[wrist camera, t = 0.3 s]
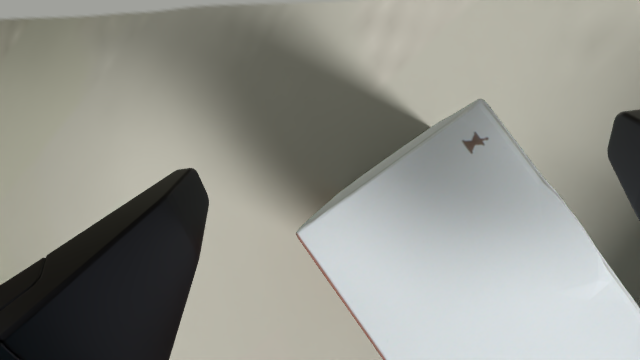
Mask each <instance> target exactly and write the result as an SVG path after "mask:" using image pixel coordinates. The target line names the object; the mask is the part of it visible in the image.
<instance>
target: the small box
mask: <svg viewBox="0 0 640 360" xmlns="http://www.w3.org/2000/svg"><path fill="white" fill-rule="evenodd" d="M296 235H297V237H298V239H299V240H300V242H301V243H302V245H303V246H304V247H305V249H306V250H307V252H308V253H309V255H310V256H311V257H312V259H313V260H314V262H315V263H316V265H317V266H318V267H319V269H320V270H321V272H322V273H323V275H324V276H325V277H326V279H327V280H328V282H329V283H330V284H331V286H332V287H333V289H334V290H335V291H336V293H337V294H338V296H339V297H340V299H341V300H342V301H343V303H344V304H345V306H346V307H347V308H348V310H349V311H350V313H351V314H352V316H353V317H354V319H355V320H356V321H357V323H358V324H359V326H360V327H361V329H362V330H363V331H364V333H365V334H366V336H367V337H368V338H369V340H370V341H371V343H372V344H373V346H374V347H375V349H376V350H377V351H378V353H379V354H380V356H381V357H382V358H383V360H640V308H639V306H638V305H637V304H636V302H635V301H634V299H633V298H632V297H631V295H630V294H629V293H628V291H627V290H626V289H625V287H624V286H623V284H622V283H621V282H620V280H619V279H618V277H617V276H616V274H615V273H614V272H613V270H612V269H611V268H610V266H609V265H608V263H607V262H606V261H605V259H604V258H603V256H602V255H601V253H600V252H599V251H598V249H597V248H596V246H595V245H594V243H593V242H592V240H591V238H590V237H589V235H588V234H587V232H586V231H585V229H584V228H583V226H582V225H581V223H580V222H579V221H578V219H577V218H576V217H575V215H574V214H573V213H572V211H571V210H570V209H569V208H568V207H567V205H566V204H565V202H564V201H563V199H562V198H561V197H560V195H559V194H558V193H557V192H556V191H555V189H554V188H553V187H552V186H551V185H550V184H549V183H548V182H547V181H546V179H545V178H544V177H543V176H542V175H541V173H540V172H539V171H538V170H537V168H536V167H535V166H534V164H533V163H532V162H531V160H530V159H529V158H528V157H527V155H526V154H525V153H524V151H523V150H522V148H521V147H520V146H519V144H518V143H517V142H516V140H515V139H514V138H513V137H512V135H511V134H510V133H509V131H508V130H507V129H506V127H505V126H504V125H503V123H502V122H501V121H500V119H499V118H498V117H497V116H496V114H495V113H494V112H493V110H492V109H491V107H490V106H489V105H488V104H487V103H486V102H485V100H483V99H478V100H476V101H474V102H473V103H471V104H469V105H468V106H466V107H464V108H463V109H461V110H459V111H458V112H456V113H454V114H453V115H451V116H449V117H447V118H445V119H444V120H442V121H440V122H438V123H437V124H435V125H434V126H432V127H431V128H429V129H428V130H426V131H425V132H423V133H422V134H420V135H419V136H417V137H416V138H415V139H413V140H412V141H410V142H409V143H407V144H406V145H404V146H403V147H402V148H400V149H399V150H397V151H396V152H394V153H393V154H391V155H390V156H389V157H387V158H386V159H384V160H383V161H382V162H380V163H379V164H377V165H376V166H375V167H373V168H372V169H370V170H369V171H368V172H366V173H365V174H363V175H362V176H361V177H359V178H358V179H357V180H355V181H354V182H353V183H351V184H350V185H349V186H347V187H346V188H344V189H343V190H342V191H341V192H339V193H338V194H337V195H336V196H334V197H333V198H332V199H331V200H330V201H329V202H328V203H327V204H325V205H324V206H323V207H322V208H321V209H320V210H318V211H317V212H316V213H315V214H314V215H313V216H312V217H311V218H310V219H309V220H307V221H306V222H305V223H304V224H303V225H302V226H301V227H300V228H299V230H298V231H297V232H296Z"/></svg>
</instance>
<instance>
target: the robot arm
mask: <svg viewBox="0 0 640 360" xmlns="http://www.w3.org/2000/svg"><path fill="white" fill-rule="evenodd" d="M608 158H609V160H610V163H611V165H612V167H613V169H614V171H615V173H616V175H617V177H618V179H619V181H620V183H621V185H622V187H623V189H624V191H625V193H626V195H627V197H628V199H629V201H630V203H631V205H632V207H633V209H634V211H635V213H636V215H637V217H638V219H639V220H640V109H639V110H632V111H624V112H621V113H619V114H618V115H617V116H616V118H615V120H614V124H613V128H612V132H611V137H610V141H609V145H608ZM208 206H209V199H208V195H207V193H206V190H205V188H204V186H203V184H202V182H201V179H200V177H199V175H198V173H197V171H196V170H195V169H193V168H187V169H180V170H176V171H174V172H173V173H171V174H170V175H168V176H167V177H165V178H164V179H162V180H161V181H159V182H158V183H156V184H155V185H153V186H151V187H150V188H148V189H147V190H145V191H144V192H142V193H141V194H139V195H138V196H136V197H135V198H133V199H132V200H130V201H129V202H127V203H126V204H124V205H123V206H121V207H120V208H118V209H116V210H115V211H113V212H112V213H110V214H109V215H107V216H106V217H104V218H103V219H101V220H100V221H98V222H97V223H95V224H94V225H92V226H91V227H89V228H88V229H86V230H85V231H83V232H82V233H80V234H78V235H77V236H75V237H74V238H72V239H71V240H69V241H68V242H66V243H65V244H63V245H62V246H60V247H59V248H57V249H56V250H54V251H53V252H51V253H50V254H48V255H47V256H46V258H42V259H40V260H39V261H37V262H36V263H34V264H33V265H31V266H30V267H28V268H27V269H25V270H24V271H22V272H20V273H19V274H17V275H16V276H14V277H13V278H11V279H9V280H8V281H6V282H5V283H3V284H2V285H0V360H169V358H170V355H171V351H172V348H173V345H174V341H175V338H176V335H177V331H178V328H179V325H180V321H181V318H182V314H183V311H184V308H185V304H186V301H187V298H188V294H189V291H190V288H191V284H192V281H193V278H194V274H195V271H196V268H197V264H198V260H199V256H200V252H201V246H202V241H203V235H204V229H205V224H206V218H207V212H208Z"/></svg>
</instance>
